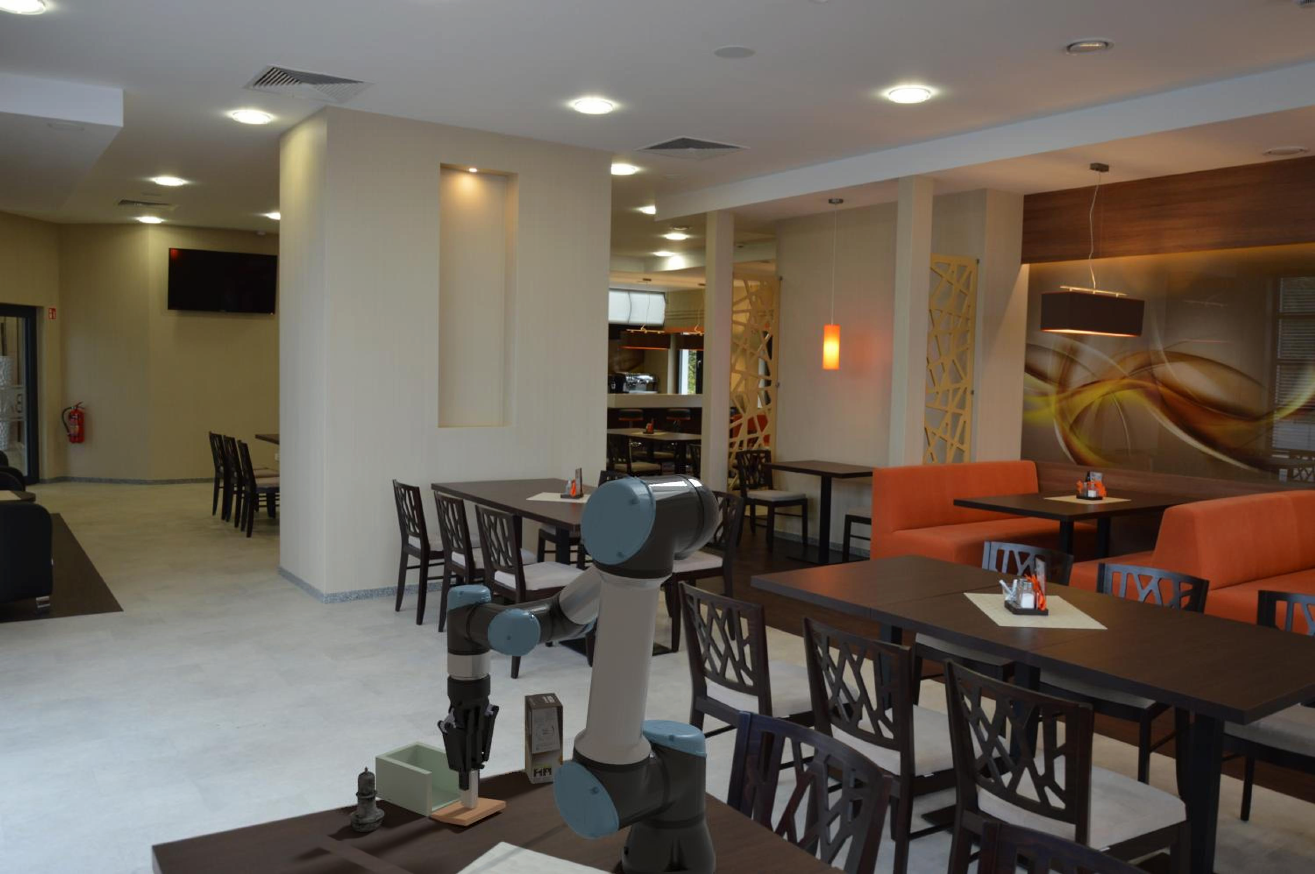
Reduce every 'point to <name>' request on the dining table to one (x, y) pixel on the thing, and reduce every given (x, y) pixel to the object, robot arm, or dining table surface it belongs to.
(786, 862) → the dining table surface
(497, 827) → the dining table surface
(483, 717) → the robot arm
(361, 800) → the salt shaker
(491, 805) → the flat tan square board
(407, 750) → the crate
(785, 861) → the dining table surface
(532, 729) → the coffee box
